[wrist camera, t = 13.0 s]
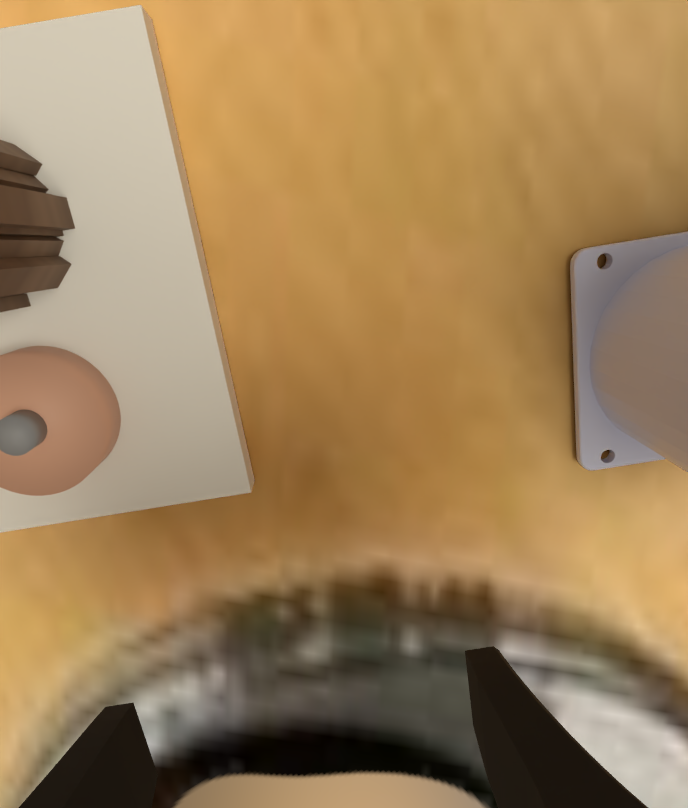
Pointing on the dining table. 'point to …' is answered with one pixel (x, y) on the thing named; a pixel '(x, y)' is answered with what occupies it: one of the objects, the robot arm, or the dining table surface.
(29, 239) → the walnut pinion gear
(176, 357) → the gear board
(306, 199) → the dining table surface
